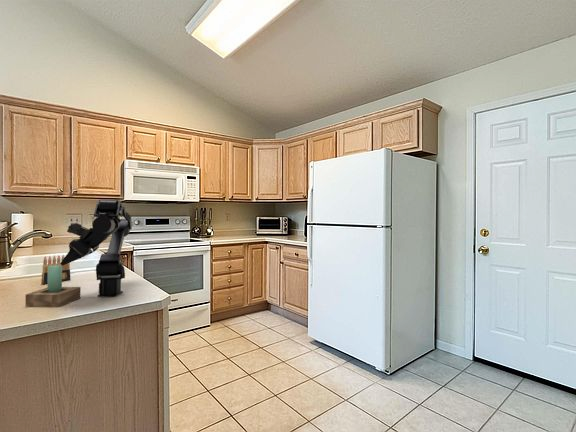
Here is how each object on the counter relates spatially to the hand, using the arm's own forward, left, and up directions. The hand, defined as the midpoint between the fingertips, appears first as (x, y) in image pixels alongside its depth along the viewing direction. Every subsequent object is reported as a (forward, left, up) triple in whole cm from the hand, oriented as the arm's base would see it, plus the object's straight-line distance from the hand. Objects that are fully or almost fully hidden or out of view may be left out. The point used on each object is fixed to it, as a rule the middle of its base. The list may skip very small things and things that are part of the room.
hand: (65, 262), depth 110 cm
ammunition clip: (+23, -29, -14) cm, 40 cm away
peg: (+3, +1, -14) cm, 14 cm away
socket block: (+3, +1, -14) cm, 14 cm away
